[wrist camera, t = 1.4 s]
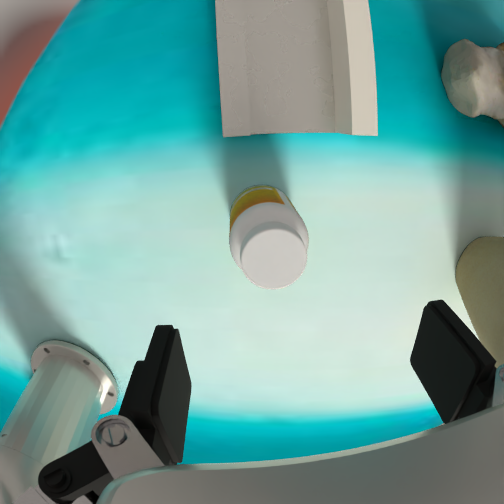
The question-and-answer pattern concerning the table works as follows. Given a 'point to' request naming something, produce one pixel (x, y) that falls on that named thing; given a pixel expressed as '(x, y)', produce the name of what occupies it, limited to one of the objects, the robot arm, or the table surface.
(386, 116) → the table surface
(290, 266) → the supplement bottle
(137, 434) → the robot arm
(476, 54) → the ceramic sculpture
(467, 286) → the plant pot
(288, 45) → the track
